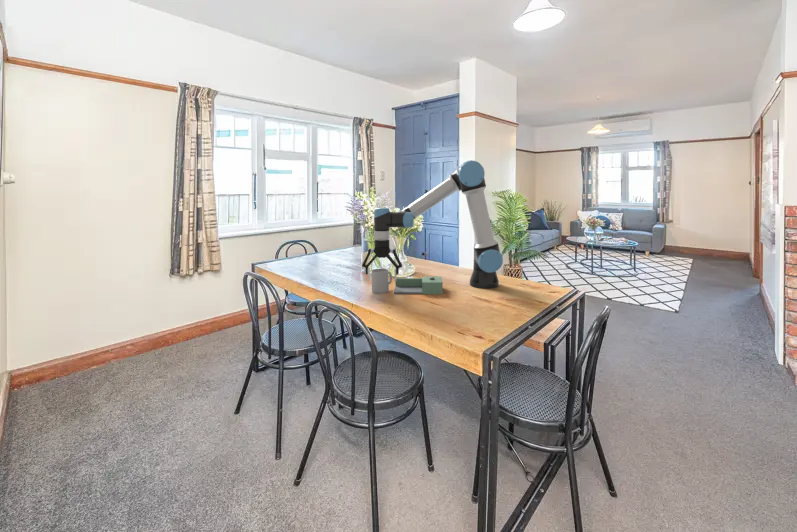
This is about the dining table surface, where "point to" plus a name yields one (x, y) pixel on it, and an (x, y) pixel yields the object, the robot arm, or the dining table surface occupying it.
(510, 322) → the dining table surface
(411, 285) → the green stepped block
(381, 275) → the mug
